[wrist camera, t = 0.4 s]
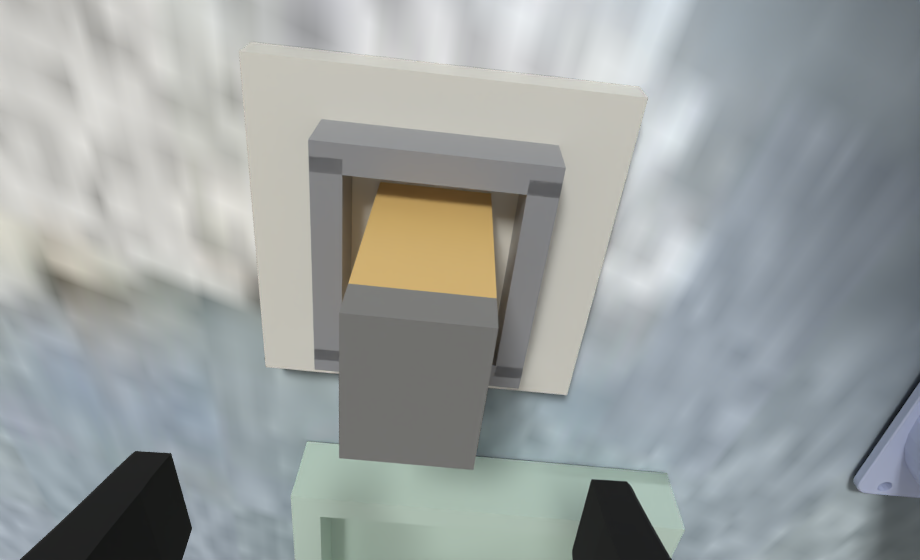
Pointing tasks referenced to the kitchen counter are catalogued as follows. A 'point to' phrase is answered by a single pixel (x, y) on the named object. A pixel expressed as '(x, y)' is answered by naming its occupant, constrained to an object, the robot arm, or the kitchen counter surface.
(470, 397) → the block
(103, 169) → the kitchen counter surface
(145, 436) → the kitchen counter surface
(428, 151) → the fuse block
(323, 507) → the parts tray
